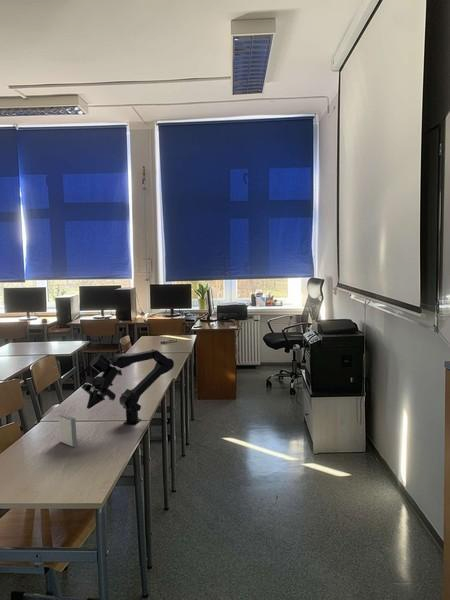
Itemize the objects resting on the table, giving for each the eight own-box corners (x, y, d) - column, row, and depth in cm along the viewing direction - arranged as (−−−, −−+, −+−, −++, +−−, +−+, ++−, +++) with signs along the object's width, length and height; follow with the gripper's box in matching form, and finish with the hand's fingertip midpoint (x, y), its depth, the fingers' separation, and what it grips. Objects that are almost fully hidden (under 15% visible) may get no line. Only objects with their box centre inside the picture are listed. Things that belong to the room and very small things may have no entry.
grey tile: (63, 440, 196) (62, 413, 195) (77, 445, 190) (75, 418, 189) (59, 442, 194) (57, 415, 193) (72, 447, 188) (71, 419, 187)
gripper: (83, 366, 208) (63, 395, 200) (108, 371, 196) (88, 402, 189) (99, 379, 215) (80, 408, 207) (124, 385, 203) (105, 415, 195)
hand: (87, 408), depth 199 cm, fingers closed
